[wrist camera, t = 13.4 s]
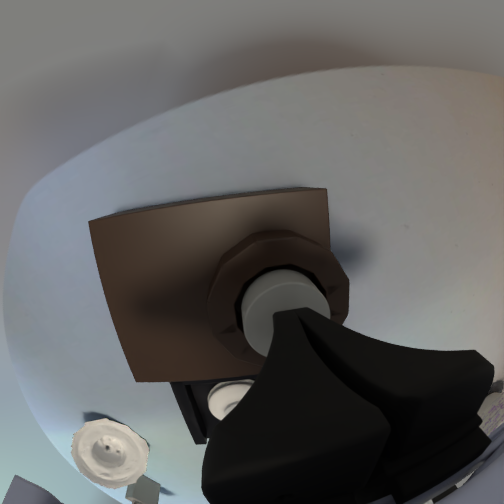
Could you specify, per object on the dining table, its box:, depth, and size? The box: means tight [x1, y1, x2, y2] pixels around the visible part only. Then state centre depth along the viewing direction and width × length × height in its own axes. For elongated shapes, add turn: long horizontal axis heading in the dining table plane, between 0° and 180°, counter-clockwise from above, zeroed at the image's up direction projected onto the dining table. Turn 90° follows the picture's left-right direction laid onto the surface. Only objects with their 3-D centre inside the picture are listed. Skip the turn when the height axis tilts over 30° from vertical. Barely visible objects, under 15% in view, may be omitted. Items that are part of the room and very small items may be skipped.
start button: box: [241, 269, 330, 357], centre depth 11 cm, size 4×4×2 cm
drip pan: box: [170, 374, 258, 445], centre depth 19 cm, size 10×10×2 cm
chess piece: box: [208, 379, 254, 420], centre depth 15 cm, size 5×5×10 cm
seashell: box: [71, 418, 150, 489], centre depth 19 cm, size 8×5×8 cm
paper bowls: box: [477, 392, 504, 436], centre depth 24 cm, size 15×15×8 cm
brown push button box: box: [88, 187, 349, 382], centre depth 15 cm, size 10×12×6 cm
